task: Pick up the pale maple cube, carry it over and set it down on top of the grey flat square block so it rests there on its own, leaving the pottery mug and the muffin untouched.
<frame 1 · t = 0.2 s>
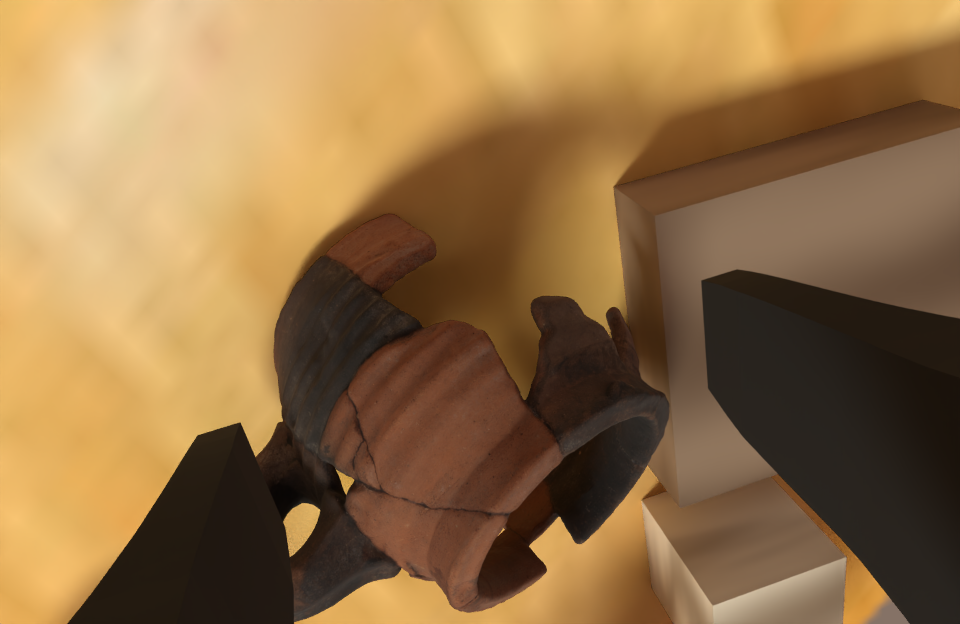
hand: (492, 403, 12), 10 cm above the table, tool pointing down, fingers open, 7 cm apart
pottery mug: (406, 374, 23), on the table
maple cube: (701, 524, 29), on the table
grey flat square block: (765, 286, 25), on the table
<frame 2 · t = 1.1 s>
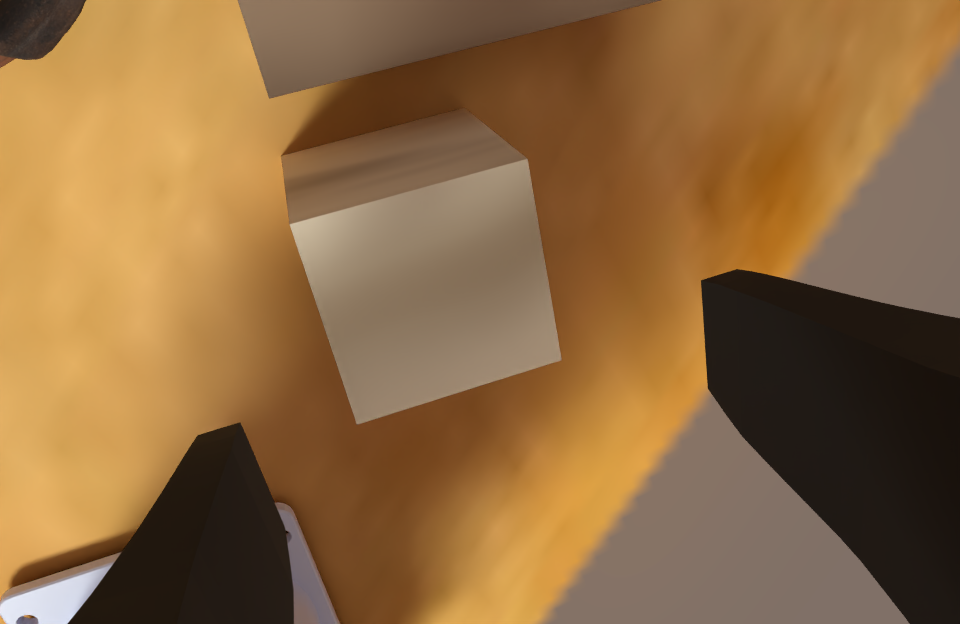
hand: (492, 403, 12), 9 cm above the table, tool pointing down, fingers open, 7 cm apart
maple cube: (396, 217, 19), on the table
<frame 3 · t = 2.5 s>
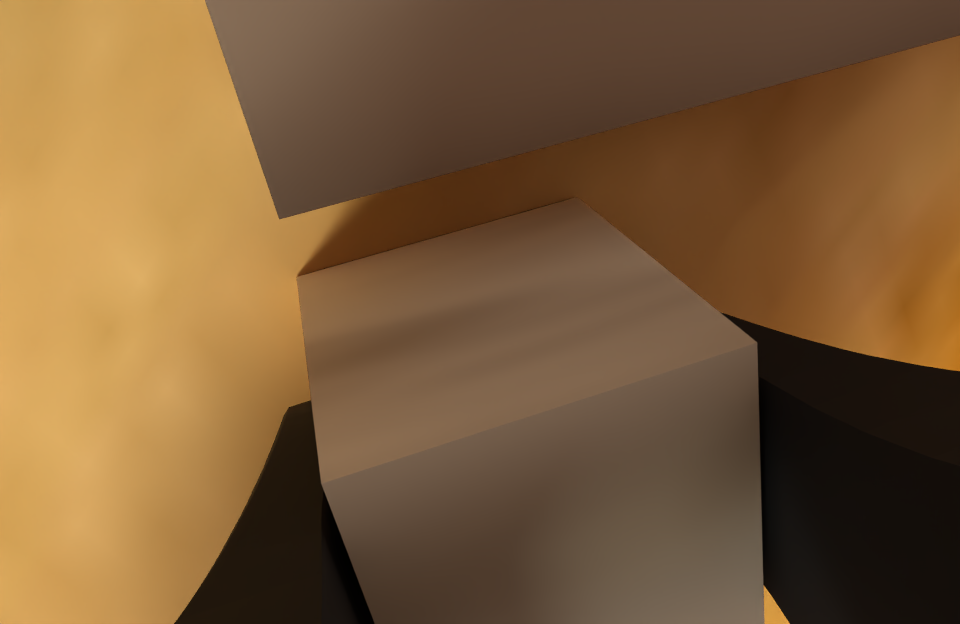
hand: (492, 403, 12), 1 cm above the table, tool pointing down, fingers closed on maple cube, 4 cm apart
maple cube: (469, 358, 13), on the table, touching gripper
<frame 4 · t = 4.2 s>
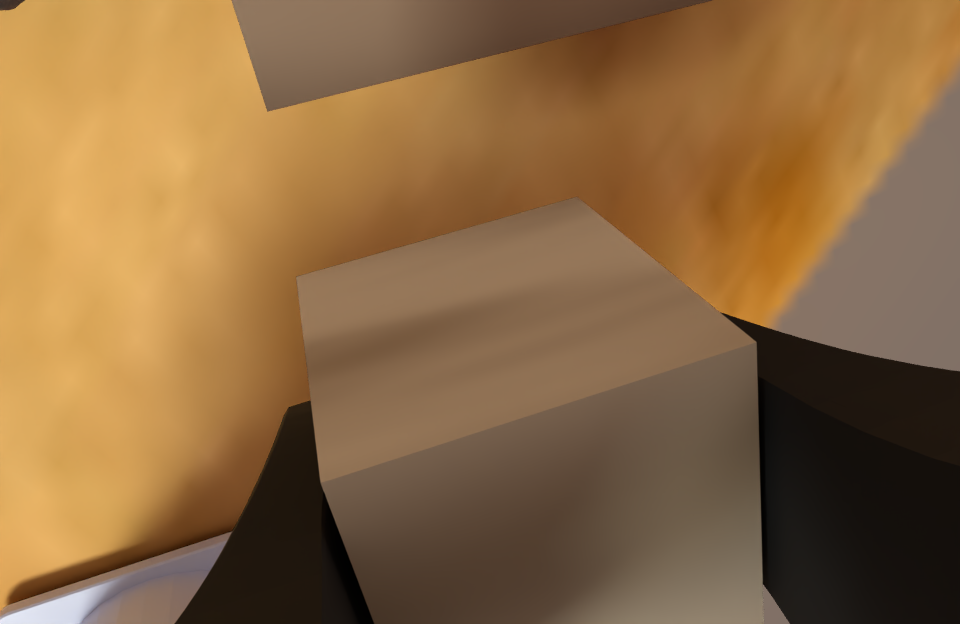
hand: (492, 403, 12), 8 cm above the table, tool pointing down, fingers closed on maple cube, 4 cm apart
maple cube: (469, 357, 13), point 7 cm above the table, touching gripper
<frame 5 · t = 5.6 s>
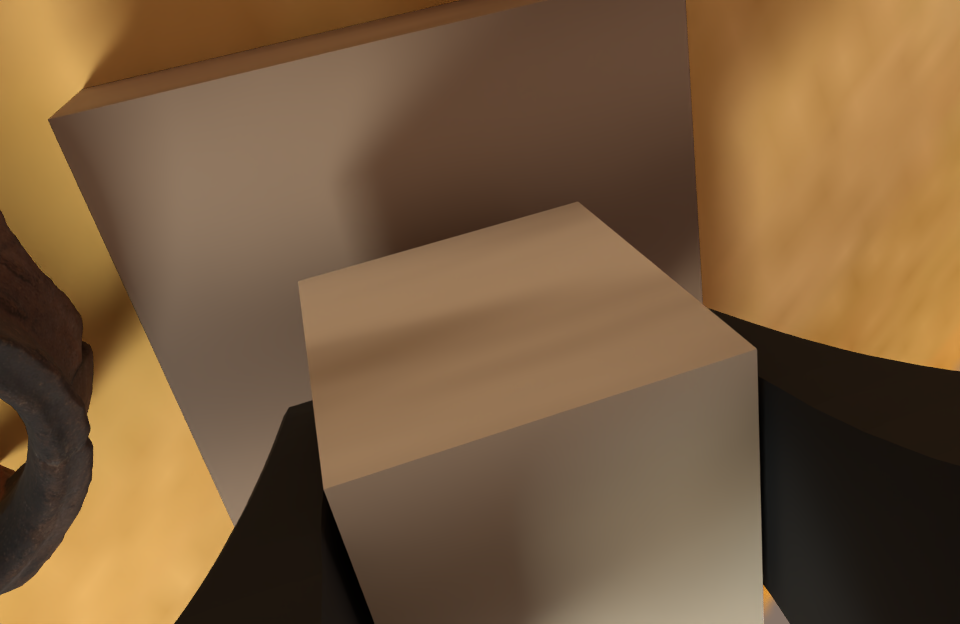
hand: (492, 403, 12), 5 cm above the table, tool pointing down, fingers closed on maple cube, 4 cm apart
maple cube: (470, 361, 13), point 4 cm above the table, touching gripper
grey flat square block: (420, 260, 17), on the table
when the fingers open (5 cm above the table, at t = 6.3 s): maple cube drops 2 cm, resting on grey flat square block.
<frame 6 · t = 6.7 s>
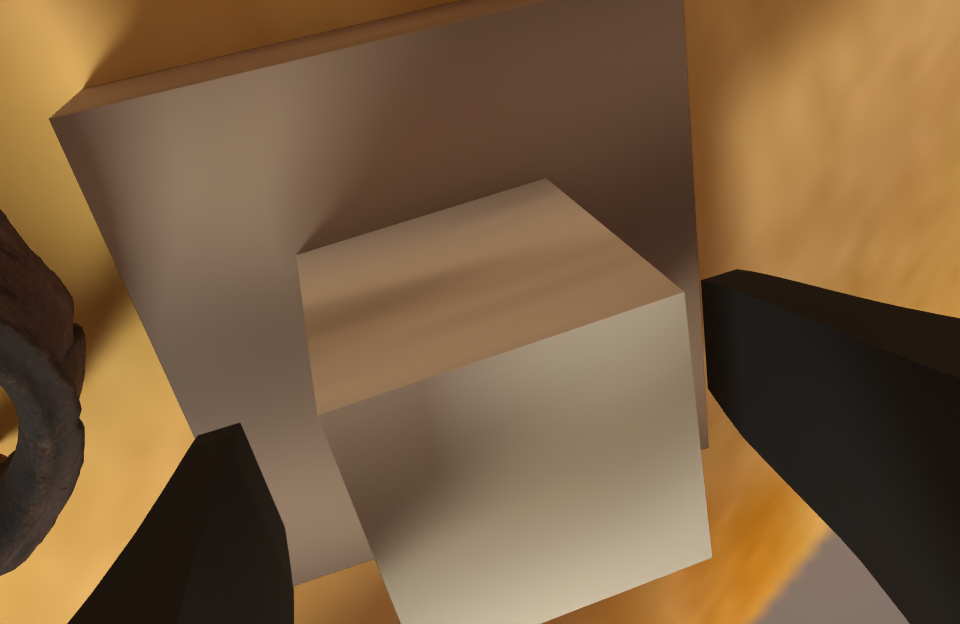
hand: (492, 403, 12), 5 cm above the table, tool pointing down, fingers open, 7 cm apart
maple cube: (454, 326, 14), point 2 cm above the table, touching grey flat square block
grey flat square block: (419, 259, 17), on the table, touching maple cube
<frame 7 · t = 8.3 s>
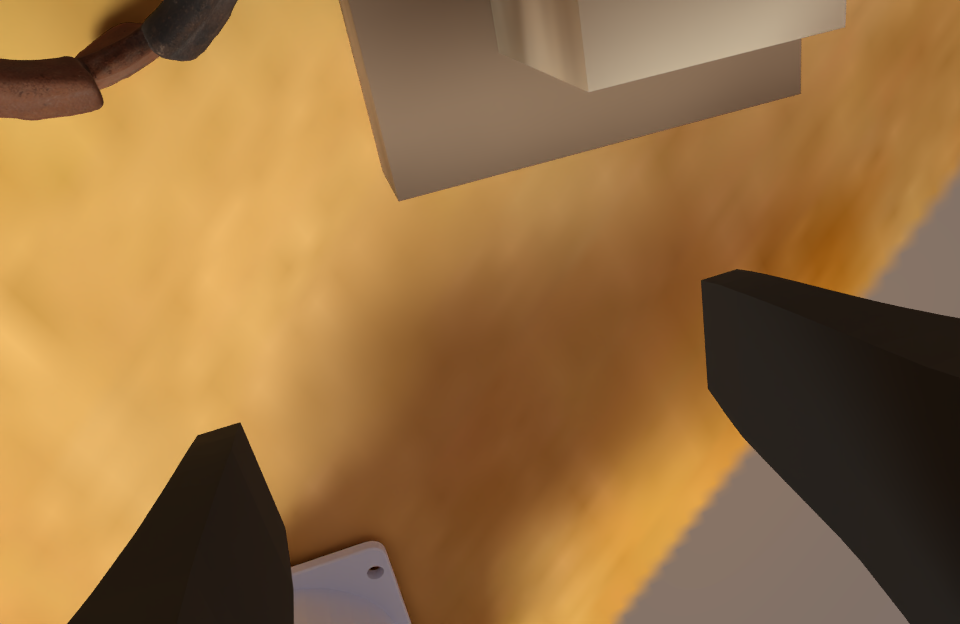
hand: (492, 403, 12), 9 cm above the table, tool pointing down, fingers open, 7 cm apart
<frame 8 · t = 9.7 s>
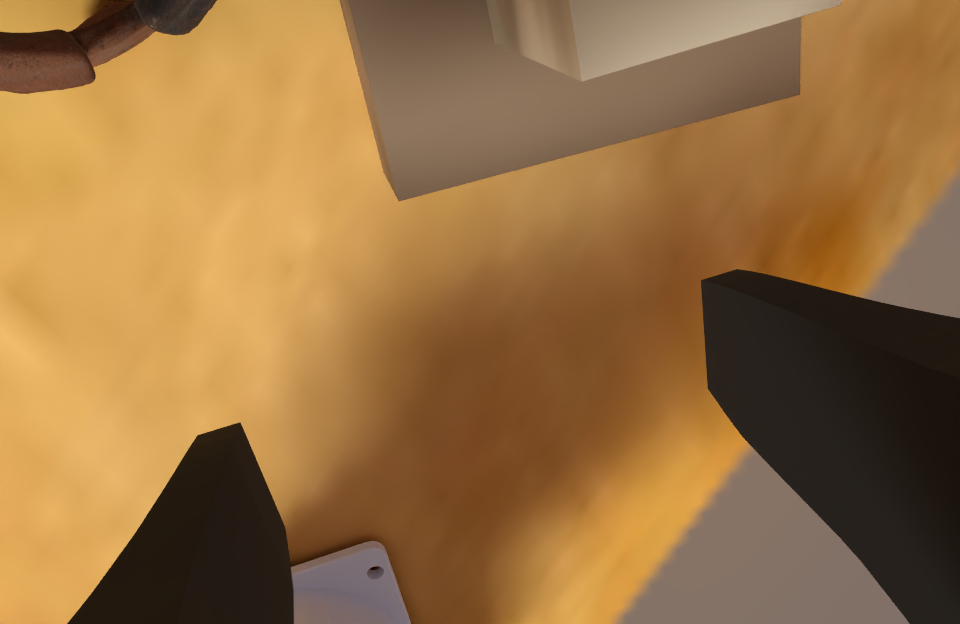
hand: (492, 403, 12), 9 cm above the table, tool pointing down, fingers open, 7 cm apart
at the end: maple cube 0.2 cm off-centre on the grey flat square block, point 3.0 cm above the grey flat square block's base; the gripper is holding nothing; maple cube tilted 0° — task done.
